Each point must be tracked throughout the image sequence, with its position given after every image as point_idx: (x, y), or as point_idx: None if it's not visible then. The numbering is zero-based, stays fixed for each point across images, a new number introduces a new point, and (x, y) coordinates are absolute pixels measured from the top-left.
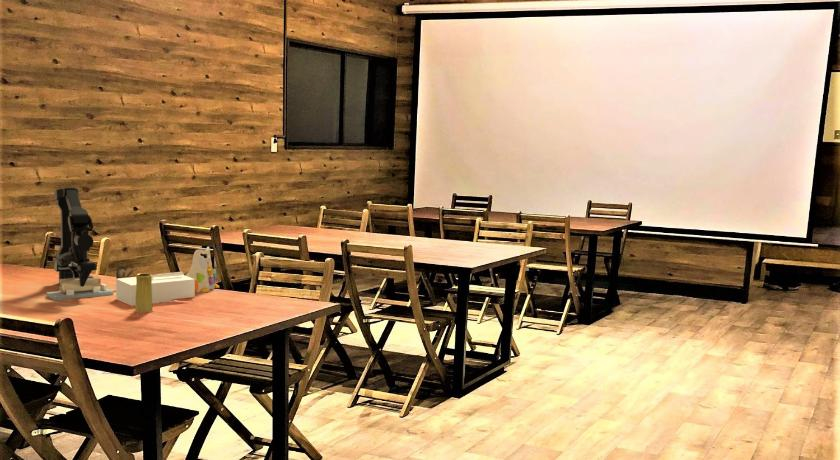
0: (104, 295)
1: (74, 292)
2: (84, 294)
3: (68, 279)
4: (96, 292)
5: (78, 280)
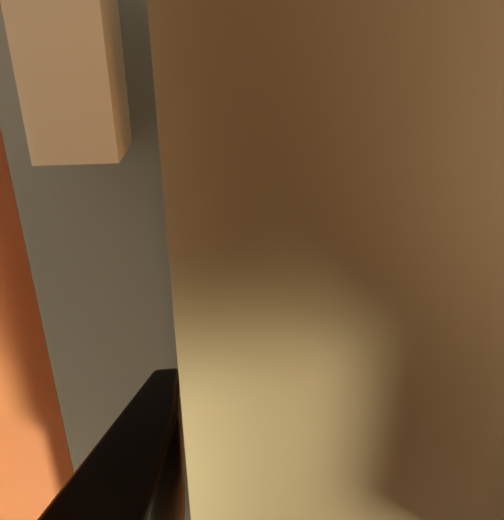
0: None
1: None
2: (41, 313)
3: (417, 160)
4: None
5: (187, 432)
